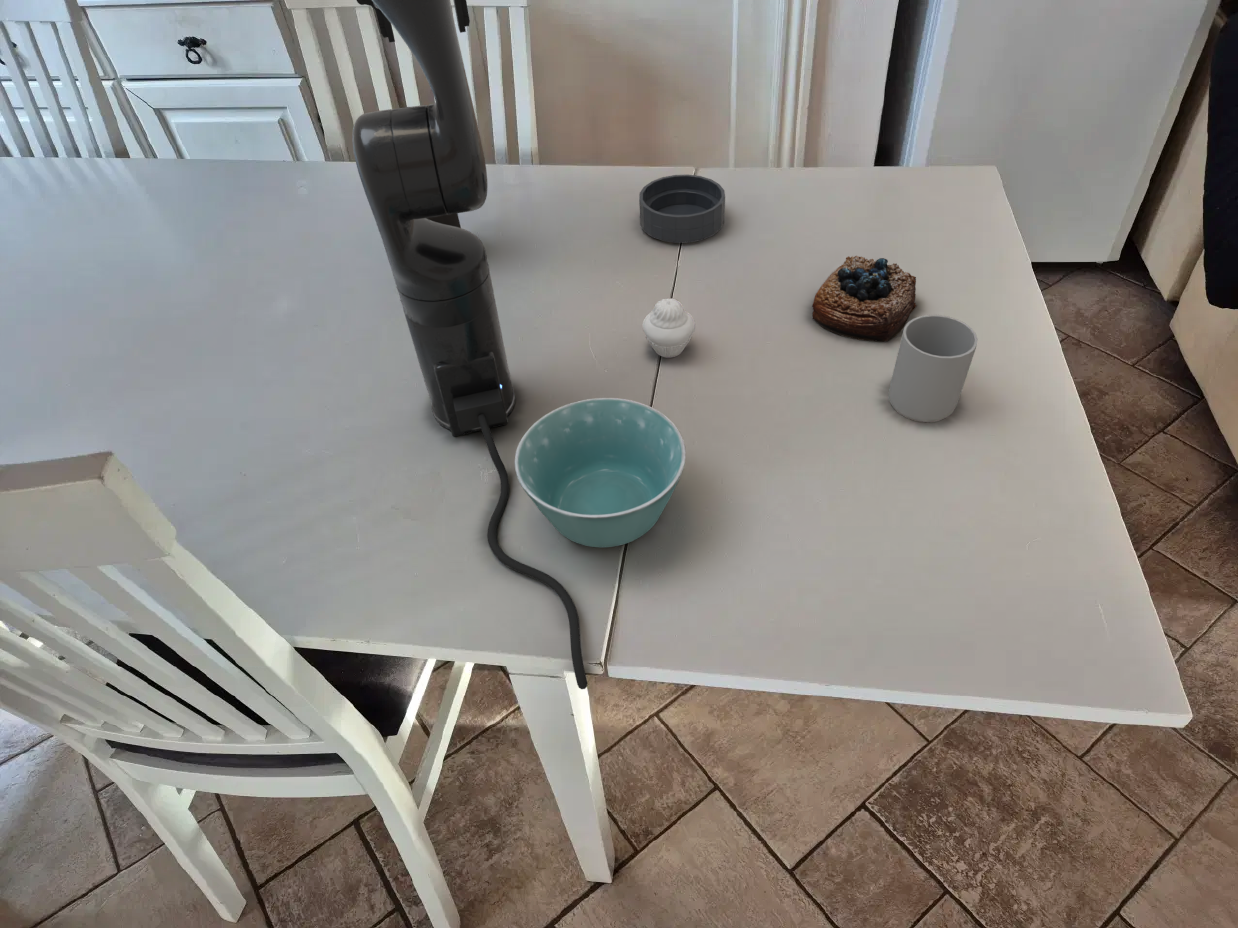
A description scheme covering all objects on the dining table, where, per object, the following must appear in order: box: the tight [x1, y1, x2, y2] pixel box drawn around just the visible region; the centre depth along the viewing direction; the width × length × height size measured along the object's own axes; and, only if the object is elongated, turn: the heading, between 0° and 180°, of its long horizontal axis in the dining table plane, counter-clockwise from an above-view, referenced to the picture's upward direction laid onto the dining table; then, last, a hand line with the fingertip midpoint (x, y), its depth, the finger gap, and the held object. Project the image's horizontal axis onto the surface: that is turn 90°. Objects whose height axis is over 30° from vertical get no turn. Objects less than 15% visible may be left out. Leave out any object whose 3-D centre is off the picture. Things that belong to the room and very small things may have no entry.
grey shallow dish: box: [638, 174, 726, 244], centre depth 116 cm, size 12×12×4 cm
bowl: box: [514, 397, 687, 548], centre depth 77 cm, size 16×16×8 cm
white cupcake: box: [642, 297, 696, 359], centre depth 95 cm, size 6×6×7 cm
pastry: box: [811, 255, 918, 343], centre depth 99 cm, size 11×12×6 cm
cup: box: [887, 314, 979, 423], centre depth 86 cm, size 7×10×9 cm
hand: (427, 35), depth 98 cm, fingers open, 8 cm apart
